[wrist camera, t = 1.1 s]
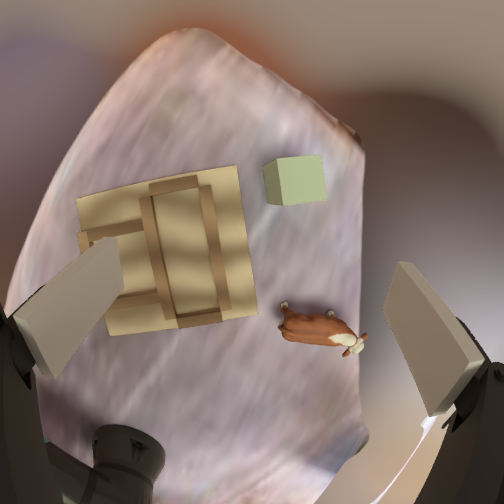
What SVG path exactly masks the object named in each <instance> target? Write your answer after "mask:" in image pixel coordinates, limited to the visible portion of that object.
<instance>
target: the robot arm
mask: <svg viewBox="0 0 504 504" xmlns="http://www.w3.org/2000/svg"><path fill="white" fill-rule="evenodd" d="M124 288H125V287H124V281H123V275H122V269H121V263H120V257H119V250H118V242H117V238H114V237H103V238H102V239H100V240H99V241H98V242H97V243H95V244H94V245H93V246H91V247H90V248H89V249H88V250H86V251H85V252H84V253H83V254H81V255H80V256H79V257H78V258H76V259H75V260H74V261H73V262H71V263H70V264H69V265H68V266H67V267H65V268H64V269H63V270H62V271H61V272H59V273H58V274H57V275H56V276H55V277H54V278H52V279H51V280H50V281H49V282H48V283H47V284H45V285H43V286H41V287H40V288H39V289H38V290H37V291H36V292H35V293H34V295H31V296H30V297H29V298H28V300H26V301H25V302H24V303H23V304H22V305H21V306H20V307H19V308H18V309H17V310H15V311H14V312H13V313H12V314H11V315H10V316H9V317H8V318H7V317H6V315H5V313H4V310H3V308H2V305H1V303H0V504H152V494H153V484H154V482H155V481H156V479H157V477H158V476H159V474H160V472H161V470H162V469H163V467H164V464H165V452H164V450H163V448H162V447H161V445H160V444H159V443H158V442H157V441H155V440H154V439H153V438H151V437H150V436H148V435H146V434H145V433H143V432H140V431H138V430H135V429H132V428H129V427H125V426H119V425H108V426H103V427H101V428H99V429H98V430H97V431H96V432H95V435H94V438H93V441H92V449H93V460H94V466H93V468H91V467H89V466H88V465H86V464H84V463H82V462H81V461H79V460H77V459H76V458H74V457H73V456H71V455H70V454H68V453H66V452H65V451H63V450H62V449H60V448H59V447H58V446H56V445H55V444H53V443H52V442H51V440H49V439H46V438H45V437H43V432H42V426H41V420H40V414H39V407H38V399H37V390H36V380H35V373H34V371H33V369H32V367H33V366H34V365H35V363H36V364H37V366H38V368H39V369H40V371H41V373H42V374H43V375H45V376H48V377H50V378H52V379H54V380H56V379H57V378H58V376H59V375H60V373H61V372H62V371H63V369H64V368H65V366H66V365H67V363H68V362H69V360H70V359H71V358H72V356H73V355H74V353H75V352H76V350H77V349H78V348H79V346H80V345H81V344H82V342H83V341H84V339H85V338H86V337H87V335H88V334H89V333H90V331H91V330H92V329H93V327H94V326H95V325H96V323H97V322H98V321H99V319H100V318H101V317H102V316H103V314H104V313H105V312H106V310H107V309H108V308H109V307H110V305H111V304H112V303H113V302H114V300H115V299H116V298H117V296H118V295H119V294H120V293H121V292H122V290H123V289H124ZM382 311H383V313H384V315H385V317H386V319H387V321H388V323H389V325H390V327H391V329H392V331H393V333H394V335H395V338H396V340H397V342H398V344H399V346H400V348H401V350H402V353H403V355H404V357H405V359H406V361H407V364H408V366H409V368H410V371H411V373H412V375H413V377H414V380H415V382H416V385H417V387H418V389H419V392H420V394H421V397H422V399H423V402H424V404H425V407H426V410H427V412H428V415H429V417H432V416H437V415H441V414H445V413H446V412H447V411H448V409H449V408H450V407H451V406H452V404H453V403H454V404H455V407H456V411H455V412H454V413H453V414H452V415H451V416H450V417H449V419H448V420H447V421H446V422H445V423H444V424H443V426H442V429H444V428H445V427H446V426H447V424H449V426H448V429H447V432H446V434H445V437H444V440H443V442H442V446H441V448H440V450H439V453H438V455H437V457H436V460H435V462H434V464H433V467H432V469H431V471H430V474H429V476H428V478H427V480H426V482H425V484H424V486H423V488H422V490H421V492H420V493H419V495H418V497H417V499H416V501H415V503H414V504H504V364H503V363H500V362H493V363H491V361H490V359H489V358H488V356H487V355H486V353H485V352H484V350H483V349H482V347H481V346H480V345H479V343H478V342H477V340H475V337H474V336H473V334H471V333H470V330H469V329H468V328H467V326H466V325H465V323H463V322H462V321H461V320H460V319H458V318H457V317H456V316H454V314H453V313H452V312H451V310H450V309H449V308H448V307H447V305H446V304H445V303H444V301H443V300H442V299H441V298H440V296H439V295H438V294H437V293H436V291H435V290H434V289H433V288H432V287H431V285H430V284H429V283H428V282H427V281H426V279H425V278H424V277H423V276H422V275H421V273H420V272H419V271H418V270H417V269H416V268H415V267H414V265H413V264H412V263H411V262H400V261H398V262H397V266H396V269H395V272H394V275H393V279H392V282H391V285H390V288H389V291H388V294H387V297H386V300H385V303H384V306H383V309H382Z"/></svg>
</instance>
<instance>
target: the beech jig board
mask: <svg viewBox="0 0 504 504" xmlns="http://www.w3.org/2000/svg"><path fill="white" fill-rule="evenodd" d="M76 201H77V208H78V214H79V220H80V226H81V231H82V232H79V233H77V236H78V241H79V245H80V250H81V254H83V253H84V252H85V251H86V250H88V249H89V248H90V247H91V246H93V245H94V244H95V243H97V242H98V241H99V240H100V239H102V238H103V237H114V238H117V242H118V250H119V257H120V263H121V269H122V275H123V281H124V287H125V288H124V289H123V290H122V292H121V293H120V294H119V295H118V296H117V298H116V299H115V300H114V302H113V303H112V304H111V305H110V307H109V308H108V309H107V310H106V312H105V313H104V314H103V316H104V319H105V322H106V325H107V328H108V331H109V334H110V336H116V335H125V334H134V333H142V332H150V331H157V330H165V329H172V328H179V329H181V328H187V327H194V326H200V325H206V324H212V323H218V322H223V320H227V319H233V318H238V317H244V316H249V315H254V314H259V313H258V307H257V300H256V294H255V287H254V281H253V274H252V267H251V261H250V254H249V248H248V241H247V234H246V228H245V221H244V214H243V208H242V201H241V194H240V188H239V181H238V174H237V167H236V165H235V166H228V167H222V168H215V169H209V170H203V171H197V172H191V173H186V174H180V175H175V176H170V177H165V178H160V179H155V180H150V181H146V182H141V183H137V184H132V185H128V186H124V187H120V188H116V189H112V190H108V191H104V192H100V193H96V194H92V195H89V196H85V197H82V198H78V199H76Z"/></svg>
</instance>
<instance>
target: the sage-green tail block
mask: <svg viewBox="0 0 504 504" xmlns="http://www.w3.org/2000/svg"><path fill="white" fill-rule="evenodd" d="M263 173H264V180H265V187H266V194H267V201H268V204H273V205H281V206H286V205H293V204H300V203H308V202H315V201H323V200H327V195H326V187H325V179H324V172H323V165H322V158H321V155H311V156H299V157H288V158H277V159H275V160H273V161H271V162H270V163H268V164H266V165H264V166H263Z"/></svg>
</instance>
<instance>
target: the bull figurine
mask: <svg viewBox="0 0 504 504" xmlns="http://www.w3.org/2000/svg"><path fill="white" fill-rule="evenodd" d="M288 305H289V303H288V302H284V303H281V307H282V309H281V312H283V313H284V314H285V315H286V316H285V318H284V321H281V322H279V326H278V329H279V330H281V331H282V336H283V338H285V339H286V340H288V341H291V342H301V343H307V344H315V345H325V346H338V345H342V346H348V349H347V350H346V351H345V352H344V353H343V354H342V356H343V357H346V356H348V355H349V354H350V353H351V352H352V353H353V354H358V353H359V352H360V351H361V350H362V349H363V348H364V343H363V341H364V340H365V339H366V338H367V333H364V334H363V335H362V336H361V337H360V338H358V337H357V336H356V334H355V333H354V332H353V331H352V330H351V329H350V328H349V327H348V326H347V325H346V323H345V322H344V321H342V320H340V319H337V318H336V317H335V315H333V314H334V311H333V310H330V311H328V313H327V315H328V316H329V317H327V316H325V315H322V314H312V315H309V316H306V315H304V314H300V313H294V312H293V311H291V310H289V309H288V308H287V307H288Z"/></svg>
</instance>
